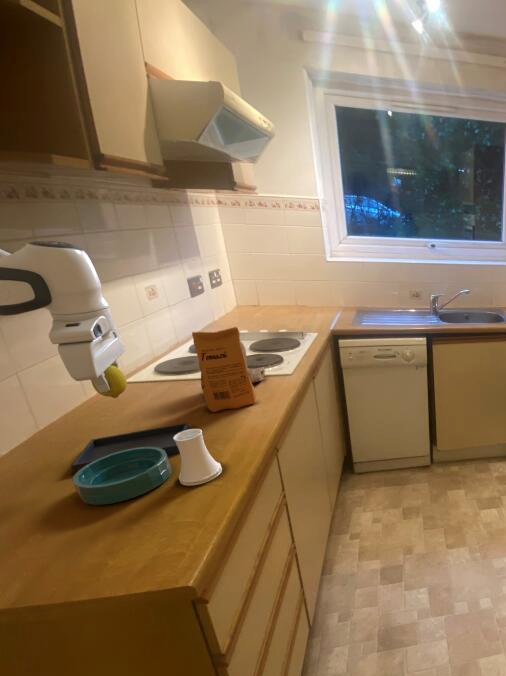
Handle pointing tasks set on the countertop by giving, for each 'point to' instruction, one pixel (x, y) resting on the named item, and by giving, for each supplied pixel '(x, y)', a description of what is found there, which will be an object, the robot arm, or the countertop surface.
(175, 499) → the countertop surface
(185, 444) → the vase
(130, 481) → the bowl
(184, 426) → the tray
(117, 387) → the lemon
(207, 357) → the coffee package
